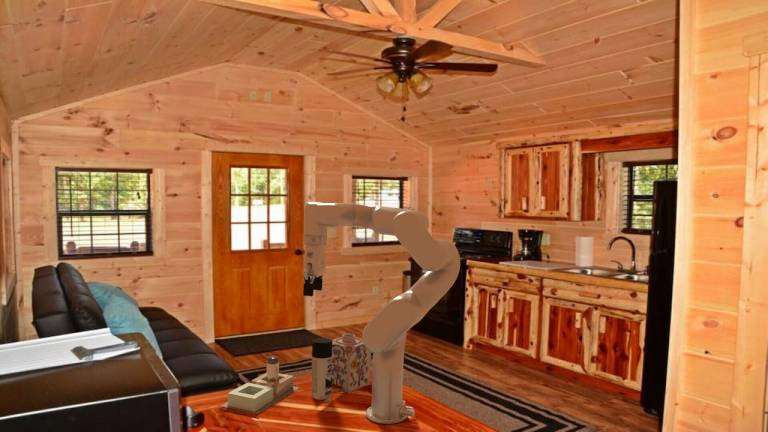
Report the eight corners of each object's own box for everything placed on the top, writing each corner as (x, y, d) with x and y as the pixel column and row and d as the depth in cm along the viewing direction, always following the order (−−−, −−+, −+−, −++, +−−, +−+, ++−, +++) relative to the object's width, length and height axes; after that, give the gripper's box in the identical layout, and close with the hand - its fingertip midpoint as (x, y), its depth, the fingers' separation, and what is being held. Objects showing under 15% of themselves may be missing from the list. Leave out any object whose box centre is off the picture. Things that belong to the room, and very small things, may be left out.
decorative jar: (324, 385, 191) (325, 335, 190) (347, 376, 200) (348, 329, 199) (348, 394, 184) (350, 342, 183) (371, 385, 193) (372, 335, 192)
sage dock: (273, 399, 173) (273, 387, 173) (254, 411, 164) (254, 398, 164) (247, 394, 177) (247, 382, 177) (227, 405, 168) (227, 393, 168)
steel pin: (280, 388, 183) (281, 356, 182) (274, 393, 179) (274, 360, 178) (270, 387, 184) (271, 355, 184) (264, 391, 180) (264, 358, 180)
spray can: (328, 405, 174) (329, 343, 173) (308, 402, 175) (309, 342, 174) (334, 397, 181) (335, 338, 180) (314, 395, 182) (315, 336, 181)
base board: (299, 391, 185) (299, 387, 184) (258, 418, 162) (258, 414, 162) (265, 385, 190) (265, 380, 190) (220, 410, 168) (220, 405, 168)
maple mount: (293, 387, 184) (293, 375, 184) (276, 397, 175) (276, 385, 175) (268, 382, 188) (268, 371, 188) (251, 392, 179) (251, 380, 179)
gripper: (318, 244, 165) (316, 299, 166) (333, 238, 182) (331, 288, 183) (295, 242, 166) (292, 297, 167) (312, 237, 183) (309, 287, 184)
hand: (312, 292), depth 175 cm, fingers open, 9 cm apart
